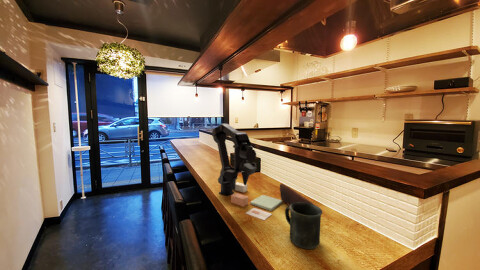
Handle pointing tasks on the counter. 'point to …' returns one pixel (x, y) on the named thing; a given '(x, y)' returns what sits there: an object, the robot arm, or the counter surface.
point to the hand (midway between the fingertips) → (239, 187)
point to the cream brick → (240, 187)
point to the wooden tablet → (291, 195)
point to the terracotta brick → (239, 199)
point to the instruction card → (258, 213)
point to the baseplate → (266, 202)
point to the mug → (304, 224)
